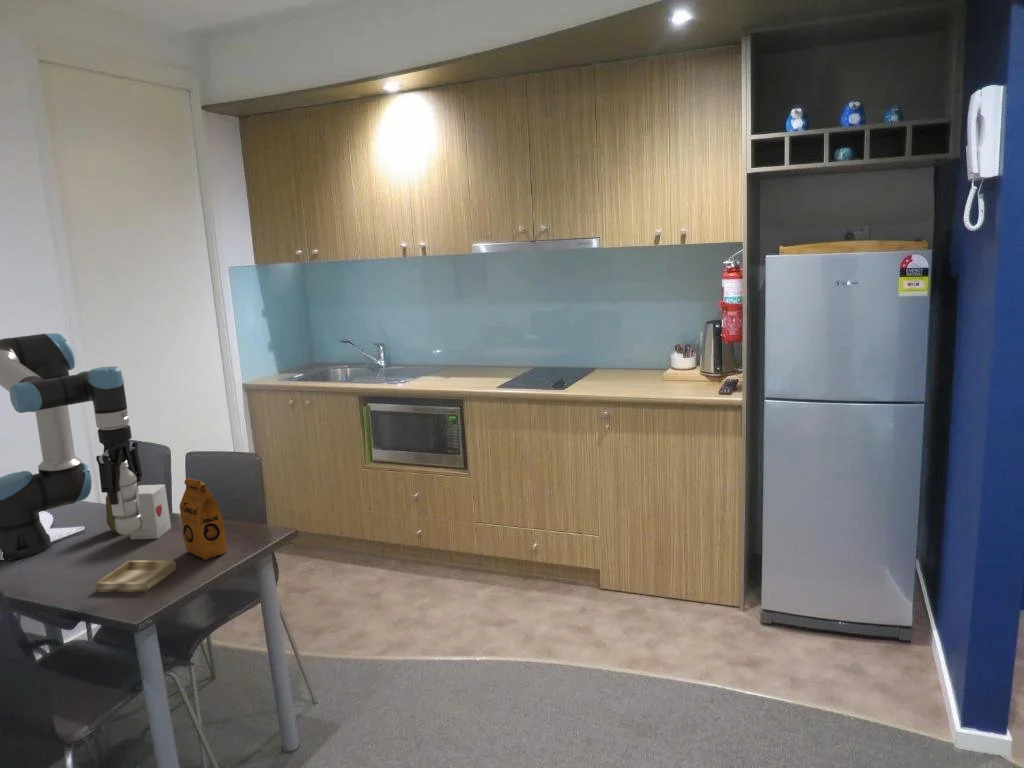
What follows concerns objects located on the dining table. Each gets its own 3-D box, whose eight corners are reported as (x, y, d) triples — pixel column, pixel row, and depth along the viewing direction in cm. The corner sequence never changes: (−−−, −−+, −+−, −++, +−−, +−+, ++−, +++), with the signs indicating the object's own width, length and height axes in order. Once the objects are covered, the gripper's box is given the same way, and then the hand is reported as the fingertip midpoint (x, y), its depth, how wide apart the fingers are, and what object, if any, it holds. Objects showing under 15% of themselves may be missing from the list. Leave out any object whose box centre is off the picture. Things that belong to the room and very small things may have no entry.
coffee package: (198, 564, 206) (188, 490, 202) (181, 552, 215) (171, 481, 210) (232, 552, 213) (223, 480, 209) (214, 541, 222) (205, 472, 217)
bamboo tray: (96, 591, 192) (95, 583, 191) (130, 568, 205) (128, 560, 205) (145, 592, 190) (144, 584, 189) (176, 568, 203) (175, 560, 203)
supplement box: (158, 539, 225) (151, 493, 222) (129, 540, 225) (122, 494, 222) (172, 527, 234) (166, 483, 231) (145, 528, 234) (138, 484, 231)
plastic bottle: (117, 530, 196) (106, 459, 193) (145, 526, 199) (134, 456, 195) (114, 539, 191) (103, 466, 187) (143, 534, 193) (132, 462, 189)
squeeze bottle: (110, 527, 236) (102, 475, 233) (138, 523, 239) (130, 471, 236) (106, 536, 229) (97, 482, 225) (134, 532, 232) (126, 478, 228)
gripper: (102, 436, 179) (116, 524, 184) (149, 417, 198) (160, 497, 202) (74, 436, 180) (89, 524, 185) (123, 417, 199) (136, 497, 203)
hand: (126, 510), depth 194 cm, fingers closed on plastic bottle, 6 cm apart
